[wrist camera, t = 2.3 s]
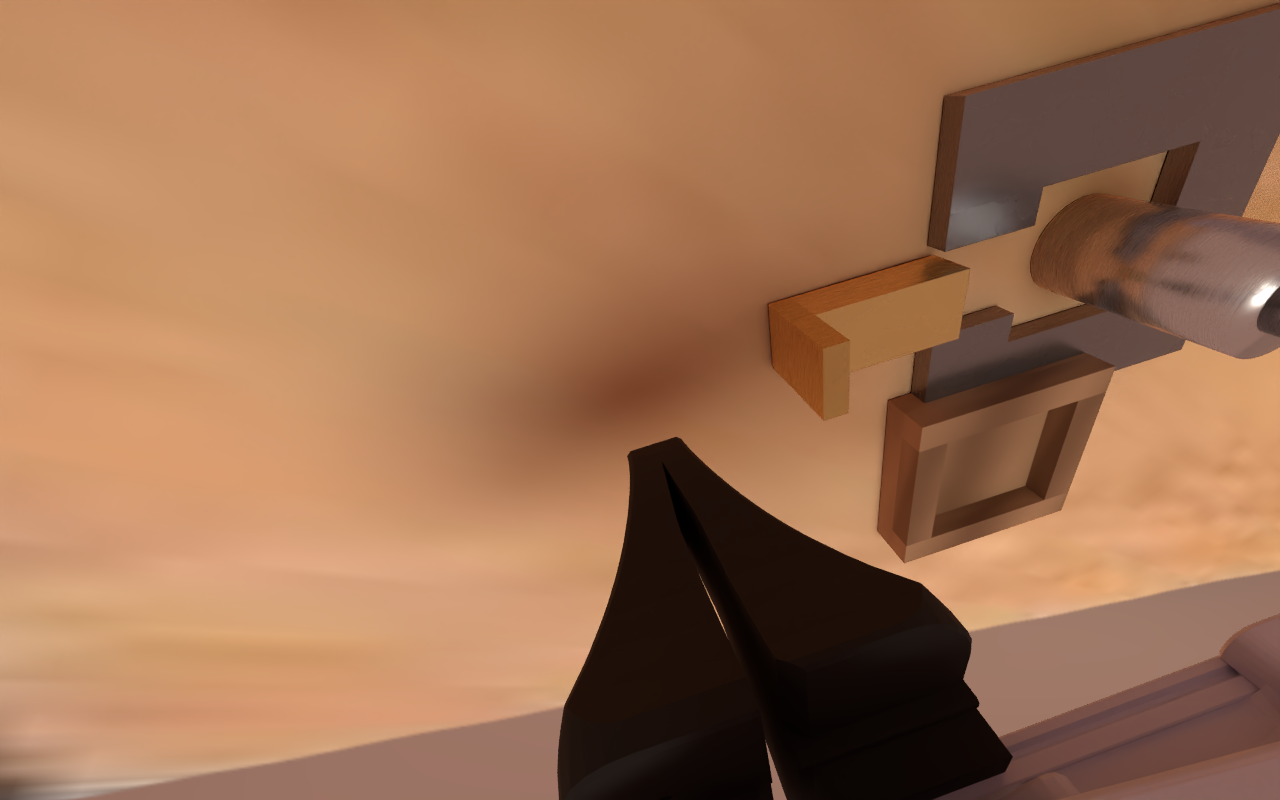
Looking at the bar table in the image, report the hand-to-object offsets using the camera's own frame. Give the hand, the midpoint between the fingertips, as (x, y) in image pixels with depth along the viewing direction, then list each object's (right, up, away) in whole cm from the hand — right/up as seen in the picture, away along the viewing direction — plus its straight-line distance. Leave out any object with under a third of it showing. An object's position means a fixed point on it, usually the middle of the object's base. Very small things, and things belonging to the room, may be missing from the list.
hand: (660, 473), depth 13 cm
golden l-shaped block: (+7, +5, +5) cm, 10 cm away
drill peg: (+15, +8, +5) cm, 18 cm away
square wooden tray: (+14, 0, +10) cm, 17 cm away
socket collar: (+15, +8, +5) cm, 18 cm away
